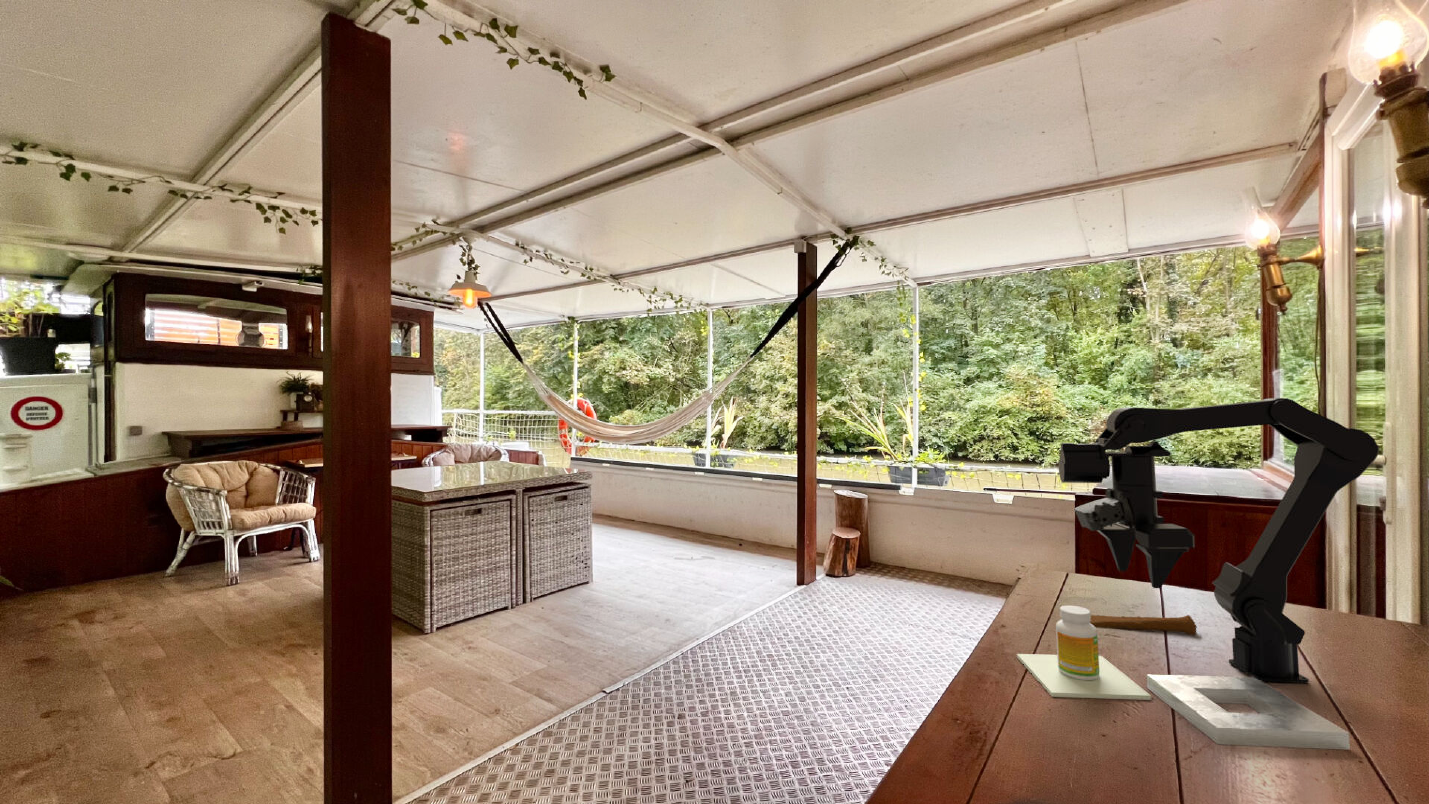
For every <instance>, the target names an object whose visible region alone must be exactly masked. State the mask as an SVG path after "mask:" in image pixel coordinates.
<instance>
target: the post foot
mask: <svg viewBox="0 0 1429 804" xmlns="http://www.w3.org/2000/svg"><path fill="white" fill-rule="evenodd" d="M1146 685H1147V686H1146V687H1147V689H1148V690H1149V691H1150V692H1151V693H1152V694H1154V695H1155V696H1156V697H1157V698H1159V699H1161V700H1162V701H1163V702H1164V703H1165V704H1167V705H1168V706H1169V707H1170V708H1172V709H1173V710H1174V711H1175V712H1176V713H1178V714H1179V715H1181V716H1182V717H1183V718H1185V719H1186V720H1187V721H1188V722H1189V723H1190V724H1192V725H1193V726H1194V727H1195V728H1197V729H1198V730H1200V731H1201V732H1202V733H1204V734H1205V736H1207V737H1208V738H1209V739H1211V740H1212V741H1214V743H1216V744H1217V745H1227V746H1228V745H1230V746H1231V745H1233V746H1254V747H1272V748H1273V747H1275V748H1278V747H1280V748H1298V749H1299V748H1300V749H1302V748H1303V749H1326V750H1346V751H1347V750H1349V751H1350V750H1351V748H1350V746H1351V745H1350V735H1349V734H1350V733H1349V731H1347V730H1346V729H1343V728H1341V727H1339V725H1336V724H1334V723H1333V722H1332V721H1329V720H1328V719H1326V718H1325V717H1323V716H1321V715H1319V714H1318V713H1316V712H1314V711H1313V710H1311V709H1309V708H1307V707H1306V706H1304V705H1302V704H1300V703H1299V702H1297V701H1295V700H1293V699H1292V698H1290V697H1288V696H1287V695H1285V694H1283V693H1282V692H1280V691H1278V690H1277V689H1275V688H1273V687H1272V686H1270V685H1268V684H1266V682H1264V681H1260V680H1258V679H1256V678H1254V677H1252V676H1225V675H1224V676H1223V675H1222V676H1219V675H1218V676H1217V675H1215V676H1214V675H1183V674H1182V675H1181V674H1178V675H1177V674H1146ZM1218 704H1233V705H1234V704H1237V705H1238V704H1240V705H1247V706H1249V707H1250V708H1251V709H1252V710H1255V711H1256V712H1258V713H1253V712H1246V713H1245V712H1228V711H1226V710H1225V709H1224V708H1222V707H1221V706H1220V705H1218Z"/></svg>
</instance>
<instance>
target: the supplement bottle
mask: <svg viewBox="0 0 1429 804" xmlns="http://www.w3.org/2000/svg"><path fill="white" fill-rule="evenodd" d="M1091 615H1092V614H1091V611H1090V610H1089V609H1088V608H1085V607H1082V606H1078V605H1061V606H1060V607H1059V616H1060V618H1061V619H1060V620H1058V621H1057V622H1056V623H1055V632H1056V633H1055V635H1056V636H1055V637H1056V638H1055V639H1056V652H1057V654H1056V655H1057V657H1058V668H1059V670H1060V671H1061V672H1062V673H1063V674H1065V675H1067V676H1069V677H1072V678H1075V679H1080V680H1094V679H1097V678H1098V677H1099V656H1100V655H1099V641H1098V640H1099V639H1098V630H1097V627H1094V626H1093V625H1092V624H1090V623H1089V622H1090V621H1091Z"/></svg>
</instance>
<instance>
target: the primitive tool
mask: <svg viewBox="0 0 1429 804" xmlns="http://www.w3.org/2000/svg"><path fill="white" fill-rule="evenodd" d="M1089 623H1090V624H1092V625H1093V626H1094V627H1095V628H1111V629H1128V630H1138V631H1139V630H1141V631H1156V632H1157V631H1158V632H1168V633H1169V632H1172V633H1184V634H1187V635H1190V636H1194V637H1195V636H1196V635H1197V624H1196V622H1195V621H1194V619H1193V618H1192V616H1191V615H1189V614H1187V615H1185V616H1180V617H1177V616H1176V617H1173V616H1172V617H1156V616H1155V617H1154V616H1153V617H1152V616H1123V615H1122V616H1113V615H1095V614H1094V615H1093V614H1091V621H1090V622H1089Z"/></svg>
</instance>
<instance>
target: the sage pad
mask: <svg viewBox="0 0 1429 804" xmlns="http://www.w3.org/2000/svg"><path fill="white" fill-rule="evenodd" d="M1098 656H1099V677H1098V678H1097V679H1094V680H1080V679H1075V678H1072V677H1069V676H1067V675H1065V674H1063V673H1062V672H1061V671H1060V670H1059V668H1058V657H1057V654H1044V653H1043V654H1040V653H1039V654H1037V653H1035V654H1033V653H1032V654H1031V653H1030V654H1029V653H1017V654H1016V658H1017V659H1018V661H1020V663H1022V665H1023V664H1024V665H1023V666H1024V667H1025V668H1026V670H1028V671H1029V672H1030V674H1031V673H1032V674H1031V675H1032V676H1033V677H1034V678H1035V679H1036V680H1037V682H1038V681H1039V682H1040V683H1041V684H1042V685H1041V684H1040V683H1039V682H1038V683H1039V684H1040V685H1041V686H1042V687H1043V688H1044V689H1045V690H1047V693H1048V694H1049V695H1050V696H1051V697H1054V698H1080V699H1081V698H1082V699H1086V698H1087V699H1112V700H1140V701H1141V700H1144V701H1145V700H1147V701H1151V700H1152V696H1151V694H1150V693H1148V692H1147V691H1146V690H1144V689H1143V688H1142V687H1141V686H1140V685H1138V684H1137V683H1136V682H1134V681H1133V680H1132V679H1131V678H1130V677H1129V676H1127V675H1126V674H1125V673H1124V672H1122V671H1121V670H1119V668H1117V667H1116V666H1115V665H1113V664H1112V663H1111V662H1110V661H1108V660H1107V659H1106V658H1105V657H1103V655H1098Z"/></svg>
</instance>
